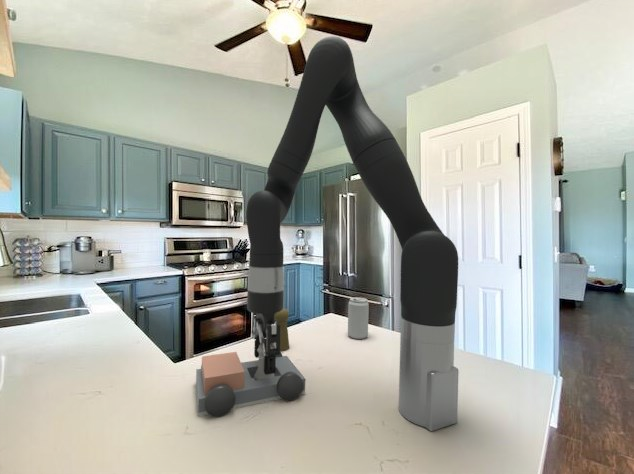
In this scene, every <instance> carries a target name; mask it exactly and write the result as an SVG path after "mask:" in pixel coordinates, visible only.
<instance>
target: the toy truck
mask: <svg viewBox="0 0 634 474" xmlns="http://www.w3.org/2000/svg"><path fill="white" fill-rule="evenodd" d="M271 348H273V347H271ZM282 353H283V352H280V355H276V364H275V373H274V375H275V376H274V377H271V378H265V379H260V380H254V375H255V373H256V371H257V369H258V364H259V359H258V360H256V359H255V360H249V361H243V362H241V360H240V357H239V355H238V352H237V351H233V352H225V353H219V354H218V353H217V354H209V355H202V356H201V366H200V368H198V369H195V370H196V373H195V374H196V375H195V387H196V389H195V390H196V401H197V403H196V404H197V416H198V417H201V416H206V415H209V416H211V417H212V418H221V417H225V416H226V415H227V414H229V413H230V412H231V411H232V410H234V409H235V410H236V409H239V408H243V407H249V406H252V405H257V404H263V403H266V402H271V401H276V400H280V399H281V400H283V401H285V402H287V403H289V402H294V401H295V400H297V399H299V398H300V396H301V395H305V394H306V378H305V376H304V375H303V373H301V371H300V370H299V369H298V368H297V366H296V365H295V364H294V363H293V362H292V360H291V359H290V358H289V357H288V355H283V354H282Z"/></svg>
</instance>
